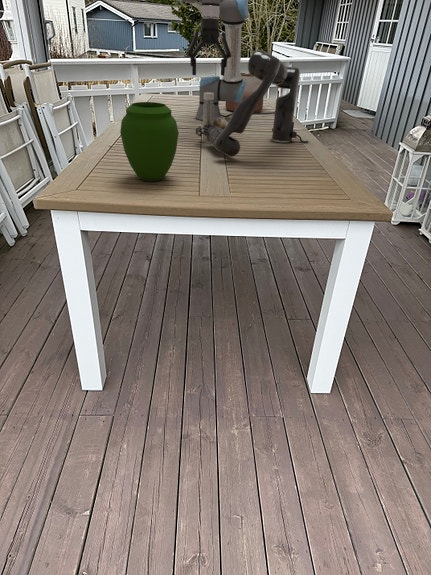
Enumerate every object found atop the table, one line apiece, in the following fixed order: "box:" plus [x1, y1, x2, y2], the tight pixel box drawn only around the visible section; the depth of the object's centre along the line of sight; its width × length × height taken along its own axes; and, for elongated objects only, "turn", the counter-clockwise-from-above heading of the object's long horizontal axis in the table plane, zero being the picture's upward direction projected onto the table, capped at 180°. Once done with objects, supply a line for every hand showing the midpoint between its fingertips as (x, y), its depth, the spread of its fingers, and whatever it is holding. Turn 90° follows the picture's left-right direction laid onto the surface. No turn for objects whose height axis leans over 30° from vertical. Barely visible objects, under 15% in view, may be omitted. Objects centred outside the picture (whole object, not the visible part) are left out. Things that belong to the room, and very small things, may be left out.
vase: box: [119, 101, 179, 182], centre depth 140 cm, size 20×20×24 cm
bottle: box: [201, 100, 214, 145], centre depth 192 cm, size 5×5×21 cm
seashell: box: [213, 116, 229, 129], centre depth 214 cm, size 10×6×8 cm, turn 97°
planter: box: [225, 72, 265, 113], centre depth 276 cm, size 25×25×22 cm
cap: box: [204, 92, 214, 100], centre depth 187 cm, size 5×5×3 cm
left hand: (208, 75), depth 183 cm, fingers open, 13 cm apart
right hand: (208, 128), depth 194 cm, fingers open, 8 cm apart
